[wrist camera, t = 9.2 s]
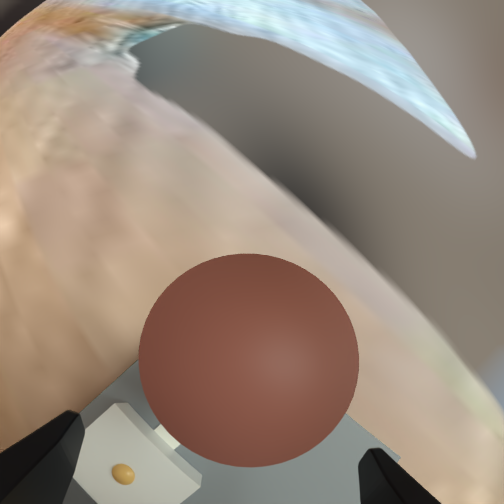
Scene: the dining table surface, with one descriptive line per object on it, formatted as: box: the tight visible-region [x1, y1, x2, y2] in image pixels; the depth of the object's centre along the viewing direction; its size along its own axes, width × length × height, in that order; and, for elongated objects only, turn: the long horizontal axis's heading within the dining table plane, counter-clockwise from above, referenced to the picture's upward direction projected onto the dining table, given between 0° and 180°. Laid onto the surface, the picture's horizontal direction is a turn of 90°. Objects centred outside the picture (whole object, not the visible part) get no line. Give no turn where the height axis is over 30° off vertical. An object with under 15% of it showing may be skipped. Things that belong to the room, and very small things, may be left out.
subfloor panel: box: [79, 359, 401, 504], centre depth 14 cm, size 19×17×1 cm
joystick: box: [139, 254, 359, 468], centre depth 11 cm, size 5×5×14 cm
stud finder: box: [63, 403, 202, 504], centre depth 12 cm, size 10×6×3 cm, turn 137°
